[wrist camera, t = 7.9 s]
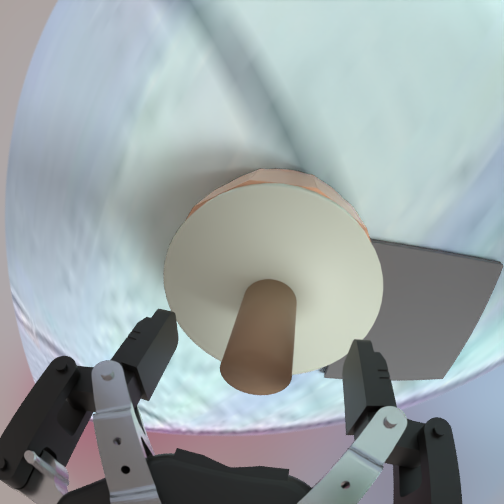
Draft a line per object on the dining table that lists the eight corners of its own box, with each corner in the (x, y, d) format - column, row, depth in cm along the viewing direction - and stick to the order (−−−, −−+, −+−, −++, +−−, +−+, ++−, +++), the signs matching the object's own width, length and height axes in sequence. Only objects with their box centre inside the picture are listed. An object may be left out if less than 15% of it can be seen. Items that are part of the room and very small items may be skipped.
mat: (500, 262, 17) (503, 265, 16) (441, 374, 23) (442, 378, 22) (365, 238, 18) (367, 241, 18) (324, 373, 24) (324, 377, 24)
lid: (402, 201, 12) (461, 254, 7) (347, 371, 17) (353, 445, 12) (165, 175, 13) (90, 209, 8) (179, 347, 19) (146, 412, 13)
